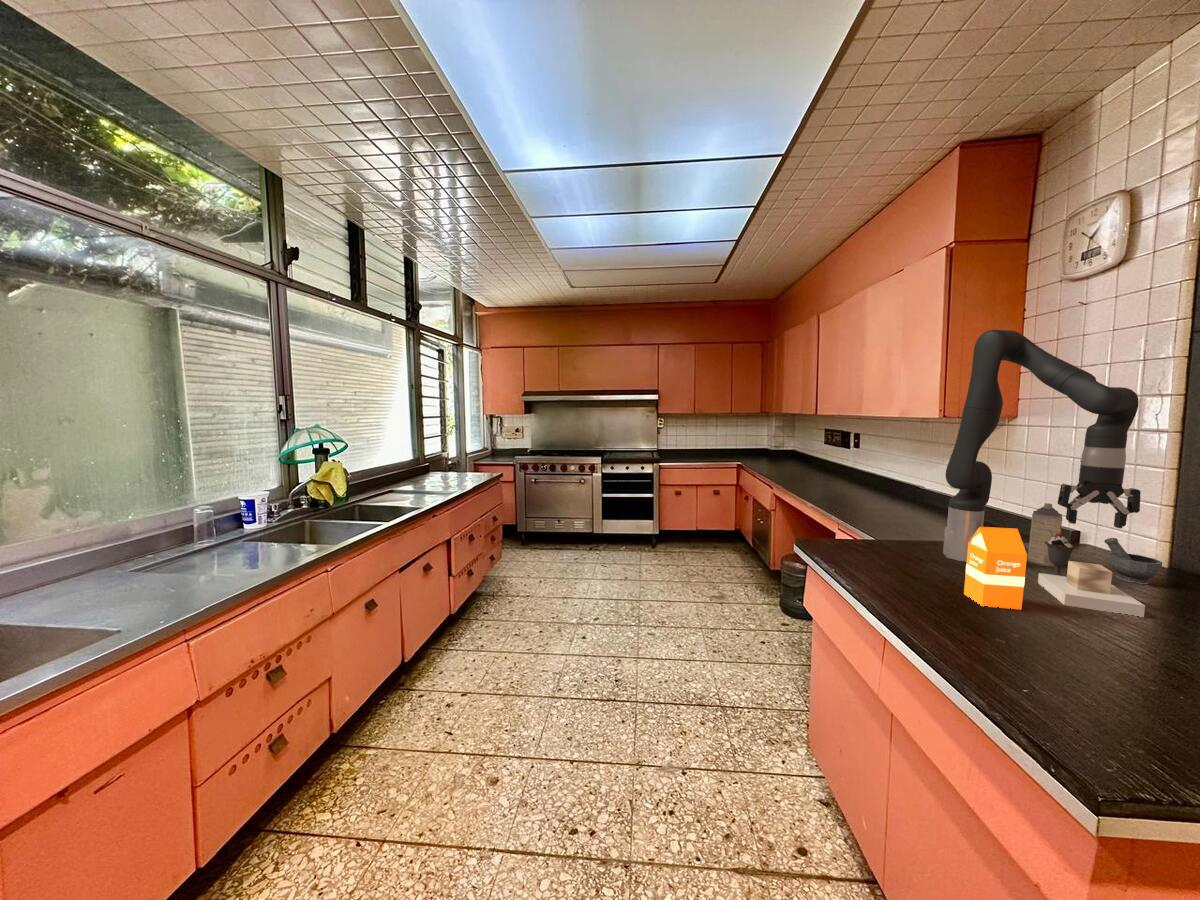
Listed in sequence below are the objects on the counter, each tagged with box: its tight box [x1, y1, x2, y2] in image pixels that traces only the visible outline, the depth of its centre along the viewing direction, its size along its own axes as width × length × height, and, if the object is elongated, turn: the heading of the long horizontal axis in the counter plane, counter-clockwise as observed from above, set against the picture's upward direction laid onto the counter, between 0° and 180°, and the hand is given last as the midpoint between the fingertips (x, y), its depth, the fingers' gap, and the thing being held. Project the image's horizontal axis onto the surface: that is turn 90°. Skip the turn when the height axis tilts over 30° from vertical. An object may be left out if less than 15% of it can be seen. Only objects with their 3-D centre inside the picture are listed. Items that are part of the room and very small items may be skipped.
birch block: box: [1066, 560, 1113, 594], centre depth 115 cm, size 6×6×6 cm
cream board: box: [1037, 572, 1146, 618], centre depth 115 cm, size 14×16×3 cm
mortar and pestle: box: [1103, 537, 1163, 583], centre depth 127 cm, size 11×9×12 cm
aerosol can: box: [1027, 502, 1063, 568], centre depth 140 cm, size 7×7×20 cm
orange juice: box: [963, 526, 1028, 610], centre depth 113 cm, size 8×9×20 cm
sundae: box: [1044, 527, 1077, 576], centre depth 129 cm, size 7×7×15 cm
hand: (1094, 525), depth 113 cm, fingers open, 8 cm apart
